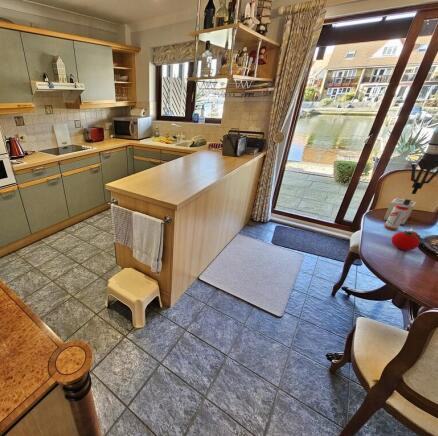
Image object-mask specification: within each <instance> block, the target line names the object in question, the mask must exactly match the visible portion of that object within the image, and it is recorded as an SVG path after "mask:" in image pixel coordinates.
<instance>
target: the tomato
mask: <svg viewBox="0 0 438 436" xmlns="http://www.w3.org/2000/svg"><path fill="white" fill-rule="evenodd" d="M413 234H415V233H411V232H409V233H408V230H406V229H405V230H404V231H399V232H396V233H395V234H393V235H392V236H391V239H390V240H391V244H392V245H393V246H394V247H396V248H397V249H399V250H402V251H403V250H404V251H412V250H415V249H416V248H417V247H419V246H418V245H419V239H418V237H417V236H416V235H413Z"/></svg>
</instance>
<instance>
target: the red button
mask: <svg viewBox="0 0 438 436" xmlns="http://www.w3.org/2000/svg"><path fill="white" fill-rule="evenodd" d="M407 232H408V233H409V232H411V233H415V234H413V235H416V236H417V235H419V233H418V232H417V231H414V230H407Z"/></svg>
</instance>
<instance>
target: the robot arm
mask: <svg viewBox="0 0 438 436" xmlns="http://www.w3.org/2000/svg"><path fill="white" fill-rule="evenodd" d="M410 167H411V175H410V181H411V182H413V184H412V185H411V188H413V189H412V191H411V194H412V195H416V194H417V193H418V192H417V191H418V190H421V189H423V186H424V185H425V184H429V183H430V182H431V181H432V180H433V179H434V178H435V177H436V176H437V175H438V124H437V125H436V127H435V128H434V130H433V132H432V134H431V137H430V140H429V142H428V143H427V146H426V147H425V149H424V152H423V154H422V155H421V158H420V159H419V160H418V161H417V162H415V163H414V162H413V163H411V166H410ZM417 167H418V168H419V172H418V173H417V176H416V171H417ZM435 169H436V170H435ZM433 170H435V171H434V172H433V174H432V175H430V177H429V178H428V176H429V174H430V172H431V171H433ZM424 171H425V173H424V175H423V177H422V174H423V172H424ZM421 177H422V179H420V178H421ZM427 178H428V179H427ZM420 180H421V181H420Z"/></svg>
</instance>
